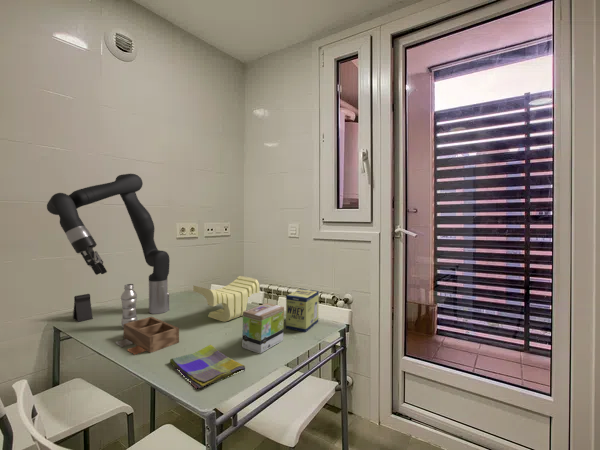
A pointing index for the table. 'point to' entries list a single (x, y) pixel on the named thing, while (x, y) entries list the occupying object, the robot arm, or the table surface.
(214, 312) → the slatted curved stool
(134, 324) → the box
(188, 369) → the dish towel
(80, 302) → the black coffee bag
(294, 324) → the protein box
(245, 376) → the table surface
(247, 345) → the tea box
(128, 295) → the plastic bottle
